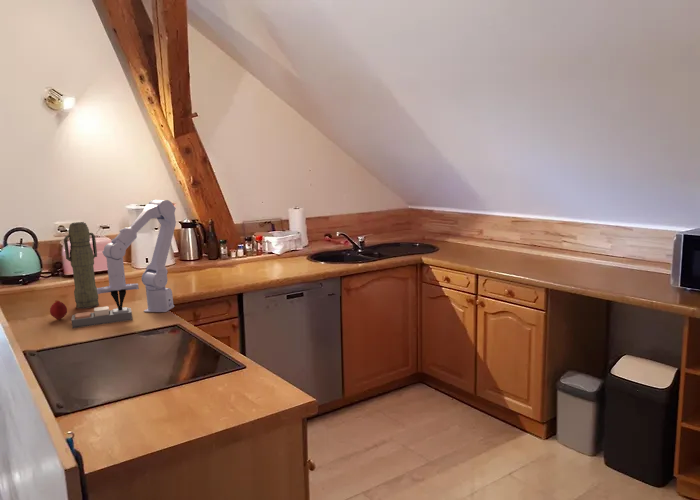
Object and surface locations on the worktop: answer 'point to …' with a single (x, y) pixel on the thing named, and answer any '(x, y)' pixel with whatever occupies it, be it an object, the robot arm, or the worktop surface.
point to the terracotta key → (83, 315)
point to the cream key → (101, 311)
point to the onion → (58, 310)
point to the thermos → (82, 264)
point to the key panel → (101, 319)
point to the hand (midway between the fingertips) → (120, 309)
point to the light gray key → (120, 310)
